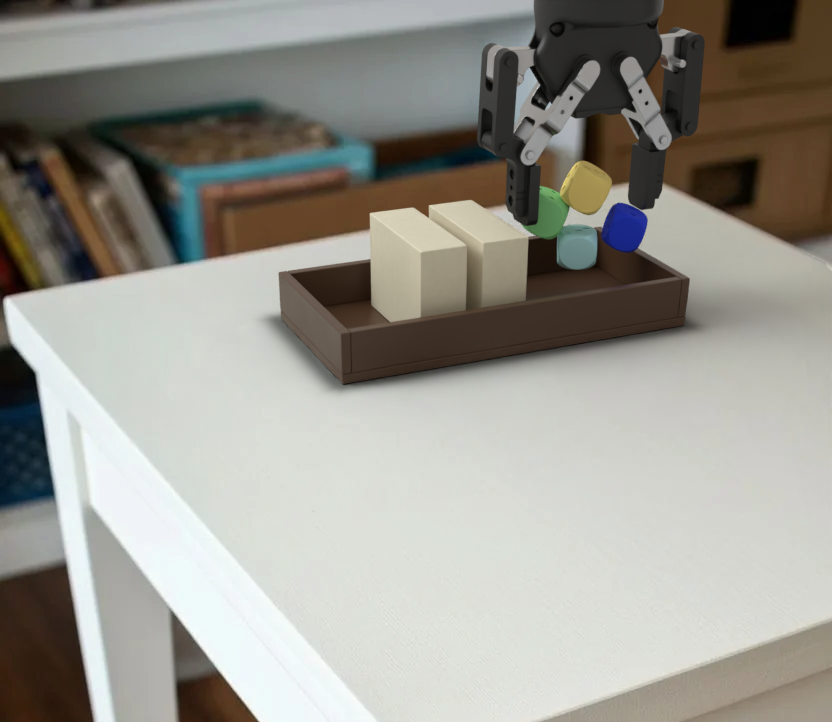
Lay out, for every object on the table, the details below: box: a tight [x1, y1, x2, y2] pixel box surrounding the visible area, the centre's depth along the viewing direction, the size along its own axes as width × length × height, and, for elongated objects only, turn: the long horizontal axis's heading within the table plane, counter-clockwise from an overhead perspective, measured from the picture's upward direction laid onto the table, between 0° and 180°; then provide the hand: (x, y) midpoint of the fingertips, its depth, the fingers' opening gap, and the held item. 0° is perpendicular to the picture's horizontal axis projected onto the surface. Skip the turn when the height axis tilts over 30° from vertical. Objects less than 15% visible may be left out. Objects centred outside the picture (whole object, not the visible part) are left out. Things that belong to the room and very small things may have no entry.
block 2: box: [428, 199, 529, 310], centre depth 86 cm, size 3×8×6 cm, turn 23°
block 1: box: [369, 206, 467, 322], centre depth 85 cm, size 3×8×6 cm, turn 23°
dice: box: [520, 160, 649, 270], centre depth 87 cm, size 8×3×6 cm, turn 87°
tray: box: [278, 226, 691, 385], centre depth 87 cm, size 23×11×3 cm, turn 113°
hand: (583, 214), depth 87 cm, fingers closed on dice, 8 cm apart
